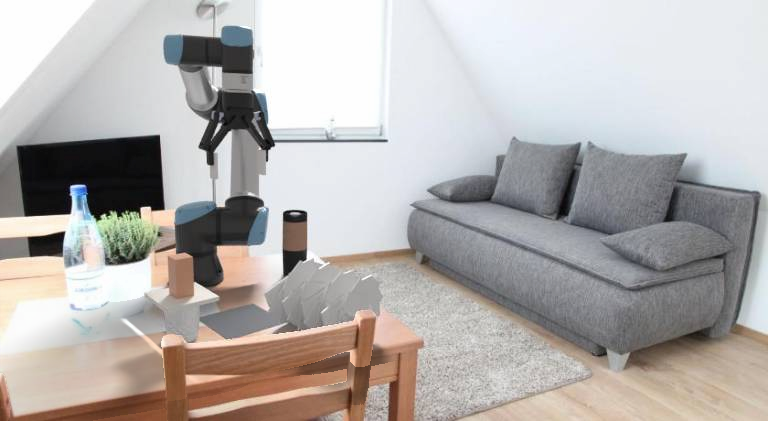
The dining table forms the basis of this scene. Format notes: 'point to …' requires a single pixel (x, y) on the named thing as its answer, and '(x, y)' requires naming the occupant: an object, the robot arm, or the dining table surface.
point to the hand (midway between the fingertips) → (238, 176)
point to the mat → (240, 321)
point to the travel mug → (294, 239)
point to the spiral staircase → (321, 296)
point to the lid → (181, 287)
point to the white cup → (183, 323)
